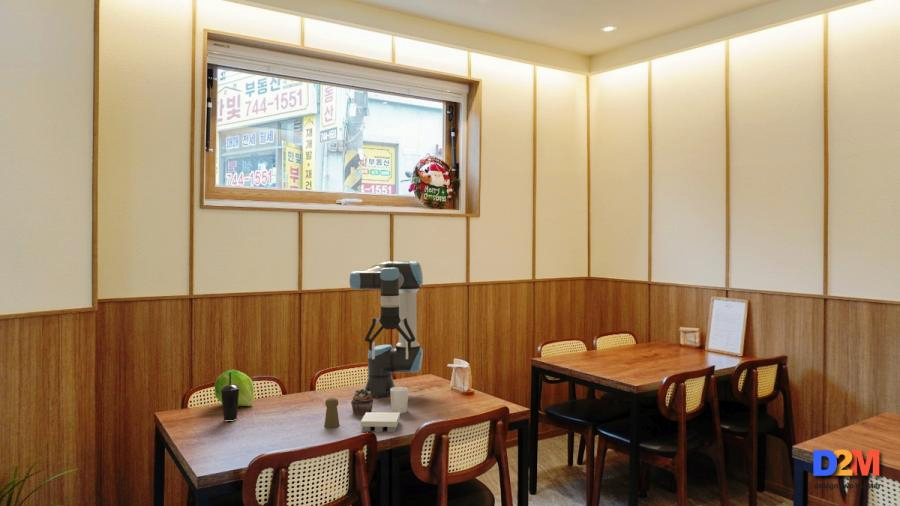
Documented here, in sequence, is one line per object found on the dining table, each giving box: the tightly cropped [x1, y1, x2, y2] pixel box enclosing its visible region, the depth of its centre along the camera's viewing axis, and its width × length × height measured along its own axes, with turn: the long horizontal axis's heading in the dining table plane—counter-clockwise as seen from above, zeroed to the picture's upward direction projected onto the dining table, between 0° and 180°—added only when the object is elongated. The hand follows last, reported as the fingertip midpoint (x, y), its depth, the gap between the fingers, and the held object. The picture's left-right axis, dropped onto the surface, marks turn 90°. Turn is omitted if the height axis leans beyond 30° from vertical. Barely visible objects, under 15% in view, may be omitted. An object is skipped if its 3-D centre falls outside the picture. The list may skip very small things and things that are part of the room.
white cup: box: [390, 386, 409, 415], centre depth 251 cm, size 8×8×10 cm
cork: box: [323, 397, 341, 429], centre depth 232 cm, size 6×6×11 cm
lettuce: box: [214, 369, 255, 407], centre depth 261 cm, size 17×20×16 cm
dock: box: [360, 411, 401, 433], centre depth 230 cm, size 12×14×4 cm
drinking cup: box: [220, 372, 240, 421], centre depth 239 cm, size 8×8×20 cm
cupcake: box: [350, 388, 374, 416], centre depth 250 cm, size 10×10×10 cm
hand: (390, 358), depth 231 cm, fingers open, 13 cm apart
